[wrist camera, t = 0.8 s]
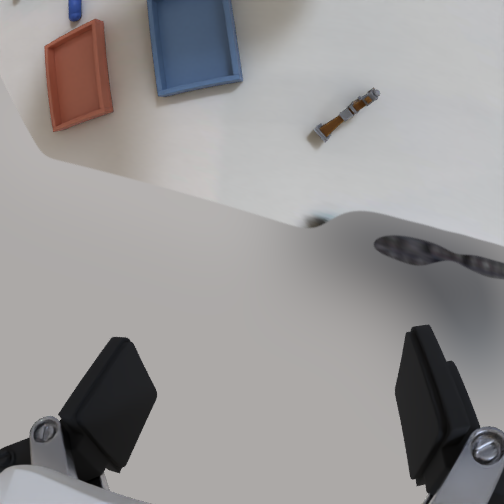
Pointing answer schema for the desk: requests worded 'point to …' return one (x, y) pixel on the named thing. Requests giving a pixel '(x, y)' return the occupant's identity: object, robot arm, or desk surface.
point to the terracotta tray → (78, 76)
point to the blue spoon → (74, 10)
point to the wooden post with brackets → (346, 114)
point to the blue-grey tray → (193, 44)
